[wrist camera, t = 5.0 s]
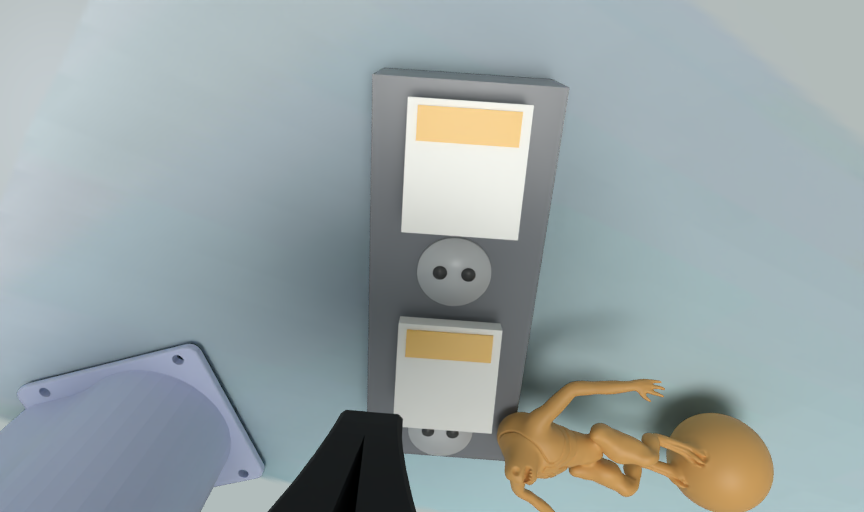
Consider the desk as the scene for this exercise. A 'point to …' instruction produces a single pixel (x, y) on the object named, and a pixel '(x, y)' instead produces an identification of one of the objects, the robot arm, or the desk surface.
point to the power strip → (455, 248)
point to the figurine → (638, 452)
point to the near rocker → (465, 167)
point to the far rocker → (447, 374)
